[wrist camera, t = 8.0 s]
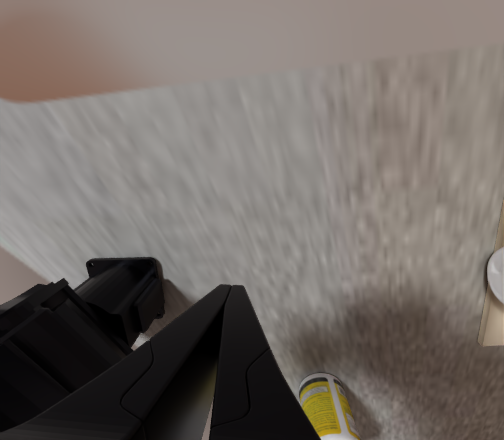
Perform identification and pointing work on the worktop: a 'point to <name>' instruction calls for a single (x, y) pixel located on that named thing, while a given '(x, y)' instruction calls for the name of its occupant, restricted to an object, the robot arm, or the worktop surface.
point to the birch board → (493, 305)
